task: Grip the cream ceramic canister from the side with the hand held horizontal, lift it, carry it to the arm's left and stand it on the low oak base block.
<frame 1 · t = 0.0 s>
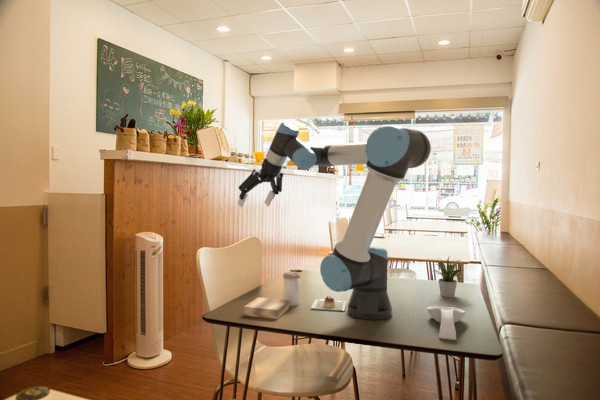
hand: (253, 204, 163), 36 cm above the table, tool tilted 35°, fingers open, 13 cm apart
dessert: (329, 307, 148), on the table
spoon rest: (446, 327, 127), on the table
house plant: (444, 296, 163), on the table
base: (267, 311, 140), on the table
canister: (291, 303, 150), on the table
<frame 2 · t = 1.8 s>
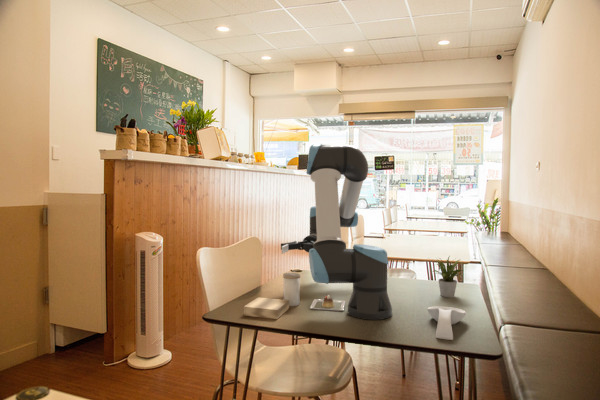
hand: (298, 251, 159), 18 cm above the table, tool horizontal, fingers open, 13 cm apart
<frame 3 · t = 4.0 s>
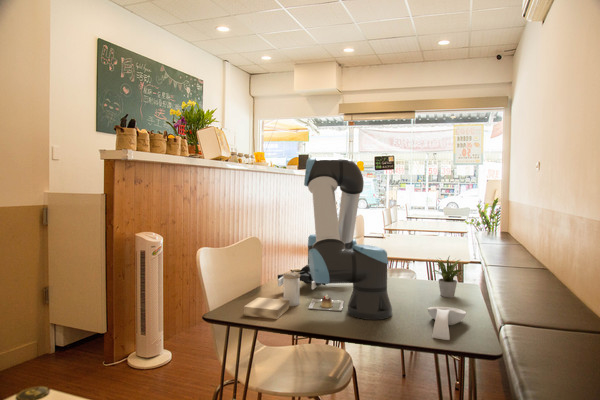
hand: (295, 284, 156), 6 cm above the table, tool horizontal, fingers open, 13 cm apart
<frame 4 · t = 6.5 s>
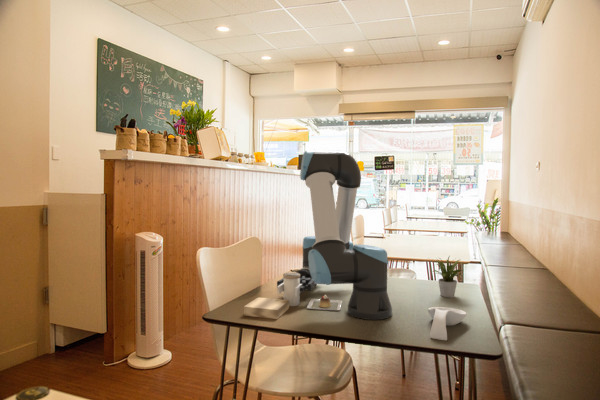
hand: (287, 291, 145), 6 cm above the table, tool horizontal, fingers closed on canister, 6 cm apart
canister: (291, 303, 150), on the table, touching gripper
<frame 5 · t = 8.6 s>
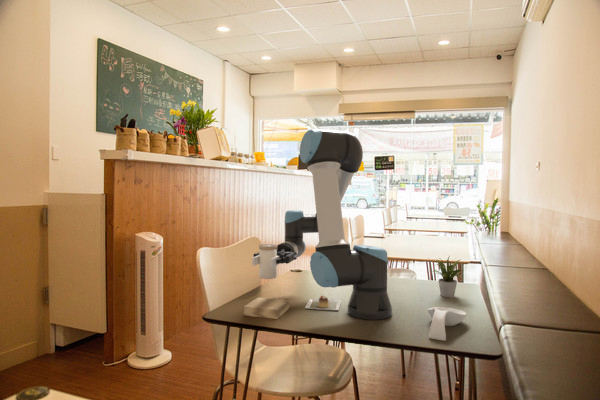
hand: (262, 262, 136), 18 cm above the table, tool horizontal, fingers closed on canister, 6 cm apart
canister: (267, 277, 141), point 12 cm above the table, touching gripper
when the fingers open (10 cm above the table, at t = 10.8 s): canister drops 1 cm, resting on base.
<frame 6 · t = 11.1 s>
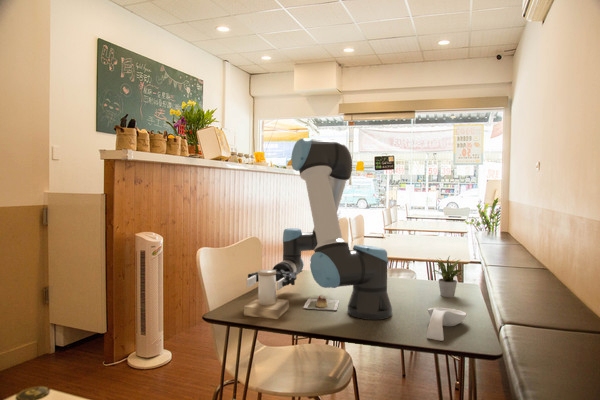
hand: (262, 284, 136), 10 cm above the table, tool horizontal, fingers open, 10 cm apart
canister: (267, 303, 140), point 3 cm above the table, touching base
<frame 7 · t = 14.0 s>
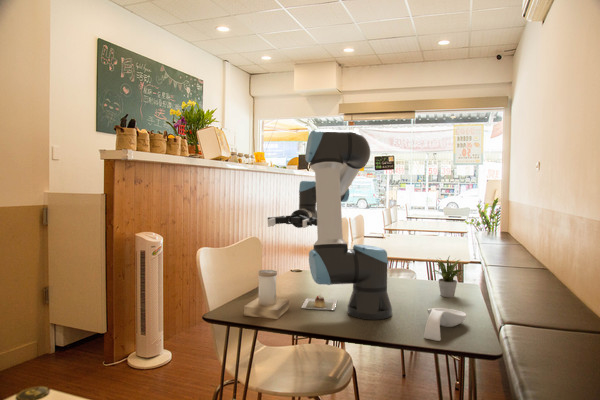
hand: (285, 223, 151), 30 cm above the table, tool horizontal, fingers open, 13 cm apart
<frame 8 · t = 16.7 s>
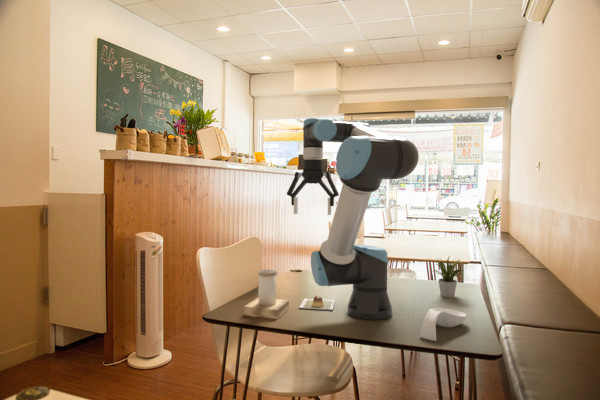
hand: (312, 214, 157), 33 cm above the table, tool pointing down, fingers open, 13 cm apart
at the end: canister inside the target area on the base (0.1 cm from its centre), point 3.0 cm above the base's base; canister tilted 1°; the gripper is holding nothing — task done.
